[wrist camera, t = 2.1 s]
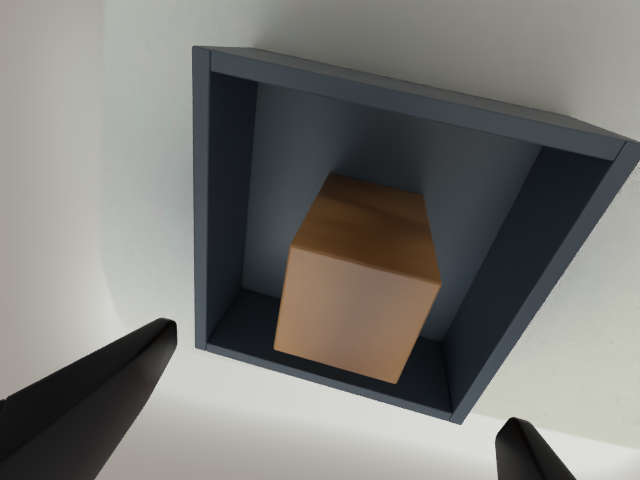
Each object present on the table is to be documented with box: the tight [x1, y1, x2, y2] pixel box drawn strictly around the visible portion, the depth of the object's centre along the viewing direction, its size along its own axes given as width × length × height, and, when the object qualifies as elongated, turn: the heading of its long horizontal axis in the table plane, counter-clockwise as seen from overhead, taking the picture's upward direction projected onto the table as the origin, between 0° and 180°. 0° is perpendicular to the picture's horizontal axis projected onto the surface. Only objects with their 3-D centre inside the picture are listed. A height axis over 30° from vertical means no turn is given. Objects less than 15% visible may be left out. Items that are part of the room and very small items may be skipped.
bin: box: [192, 46, 640, 425], centre depth 15 cm, size 13×13×5 cm
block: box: [274, 173, 442, 384], centre depth 14 cm, size 4×4×7 cm
